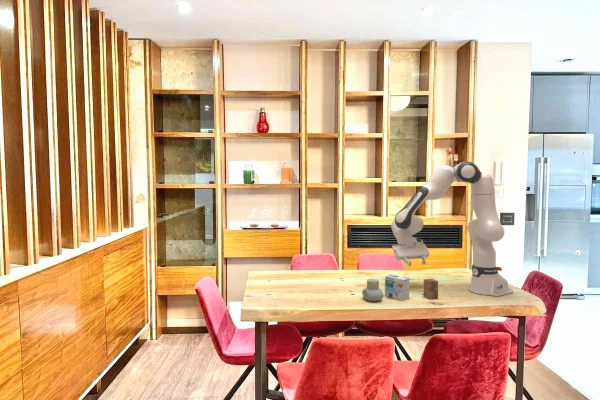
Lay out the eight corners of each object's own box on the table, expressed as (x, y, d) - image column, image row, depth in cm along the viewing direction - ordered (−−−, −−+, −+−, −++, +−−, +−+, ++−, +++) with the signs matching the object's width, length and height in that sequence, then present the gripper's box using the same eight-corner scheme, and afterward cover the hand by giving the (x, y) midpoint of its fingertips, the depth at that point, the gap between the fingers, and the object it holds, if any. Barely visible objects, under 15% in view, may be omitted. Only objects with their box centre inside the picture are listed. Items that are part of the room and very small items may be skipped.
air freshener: (360, 297, 192) (360, 278, 191) (375, 296, 194) (375, 276, 193) (370, 303, 181) (370, 283, 181) (385, 302, 183) (385, 282, 183)
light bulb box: (384, 296, 193) (384, 275, 193) (390, 293, 198) (391, 273, 198) (403, 300, 186) (403, 279, 185) (409, 297, 191) (409, 277, 190)
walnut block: (431, 295, 194) (431, 278, 194) (437, 298, 190) (438, 281, 189) (423, 296, 193) (423, 279, 192) (429, 299, 188) (429, 281, 188)
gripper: (393, 241, 205) (403, 262, 196) (424, 239, 211) (435, 260, 202) (388, 248, 209) (398, 269, 200) (419, 246, 216) (430, 266, 207)
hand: (417, 264), depth 201 cm, fingers open, 8 cm apart
